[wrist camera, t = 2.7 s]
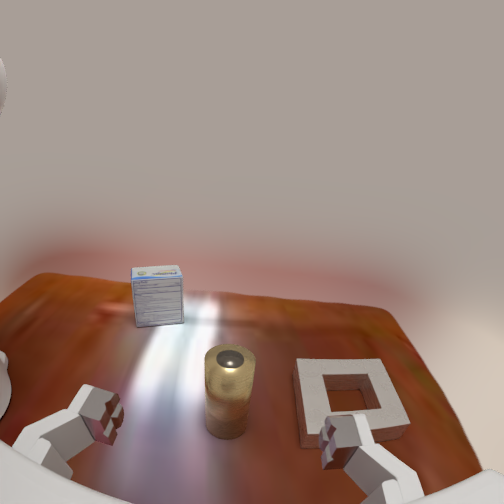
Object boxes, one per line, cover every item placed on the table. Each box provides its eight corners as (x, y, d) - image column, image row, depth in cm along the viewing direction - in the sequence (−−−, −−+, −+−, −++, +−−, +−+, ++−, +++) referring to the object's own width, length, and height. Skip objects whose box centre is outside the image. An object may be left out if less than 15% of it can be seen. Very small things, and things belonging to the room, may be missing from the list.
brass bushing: (203, 436, 25) (200, 372, 21) (208, 407, 29) (208, 340, 26) (245, 441, 25) (255, 378, 21) (247, 411, 29) (256, 345, 26)
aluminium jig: (301, 448, 24) (307, 434, 23) (292, 374, 35) (296, 358, 34) (399, 438, 24) (410, 423, 23) (373, 374, 36) (380, 358, 35)
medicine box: (179, 309, 48) (178, 263, 45) (184, 324, 44) (183, 275, 41) (135, 313, 45) (130, 266, 42) (136, 328, 41) (130, 279, 38)
